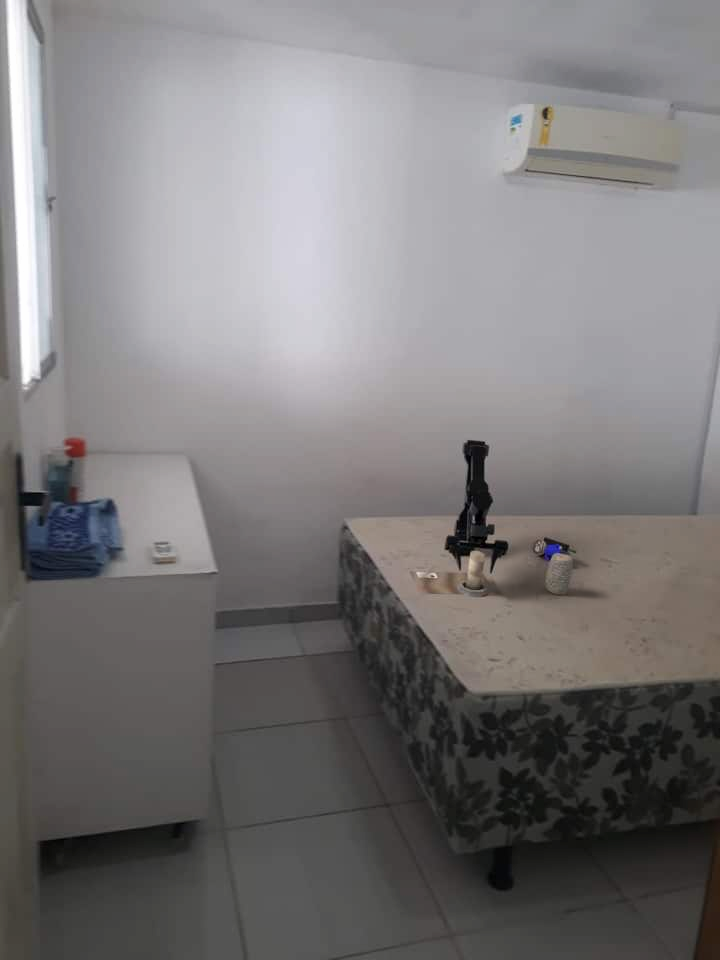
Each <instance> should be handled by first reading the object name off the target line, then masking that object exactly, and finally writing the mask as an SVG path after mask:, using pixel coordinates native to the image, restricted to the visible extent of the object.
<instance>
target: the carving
mask: <svg viewBox="0 0 720 960" xmlns="http://www.w3.org/2000/svg"><path fill="white" fill-rule="evenodd" d="M573 562H574V559H573V558H572V557H571V555H568V554H567V555H565V554H560V553H556V554H554V555H553V556H552V557H551V560H550V563H549V562H548V568H547V571H546V575H545V581H544V582H545V583H544V584H545V585H544V586H545V588H546V590H547V591H549V592H550V593H551V594H554V595H559V596H563V595H565V594H566V592H567V590H568V588H569V586H570V583H571V581H572V580H571V579H572V575H573V565H574V564H573Z"/></svg>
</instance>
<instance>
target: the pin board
mask: <svg viewBox="0 0 720 960" xmlns="http://www.w3.org/2000/svg"><path fill="white" fill-rule="evenodd" d="M409 573H410V576H411V578H412V581H413V582H414V584H415V587H416V589H417V591H418V593H419V594H421V595H423V594H425V595H430V594H431V595H461V596H462V595H463V596H464V595H466V596H469V597H483V596H498V594H497V592H496V591H495V589H494V588H493V586H492V585H491V583H490V582H489V580H488V579H487V577H486V575H485V574H484V573H482V579H481V585H480V590H470V589H467V588H465V586H466V579H467V573H468V572H453V571H451V572H449V571H448V572H446V571H444V572H443V571H416V570H414V571H413V570H412V571H409Z"/></svg>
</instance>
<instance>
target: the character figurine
mask: <svg viewBox="0 0 720 960" xmlns="http://www.w3.org/2000/svg"><path fill="white" fill-rule="evenodd" d="M531 546H532V547H531V548H532V551H533V553H534V554H535V555H537V556H538V557H541V558H545V559H547V561H548V564H549V563H550V560H551V557H552V556H553V555H554V554H556V553H560V554H565V555H568V556H571V555H572V554H571V553H573V554H577V553H578V552H577V551H576V550H574V549H570V544H567V543H564V542H560V541H557V540H555V539H552V538H548V537H543V540H542V539H539V540H538V539H537V540H535V541H534V542H533V543H532V545H531ZM574 563H575V562H574V561H573V565H574Z"/></svg>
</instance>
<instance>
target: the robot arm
mask: <svg viewBox="0 0 720 960" xmlns="http://www.w3.org/2000/svg"><path fill="white" fill-rule="evenodd" d="M461 450H462V454H463V459H464V463H466V465H467V468H466V477H465V488H464V489H465V490H464V498H463V499H464V500H463V508H462V509H461V511H460V512H459V514H458V515H457V519H456V520H455V523H454V527H453V534H452V535H451V534H448V535H446V537H445V541H444V550H445V551H448V553H449V554H452V557H453V558H454V561H455V563H456V566H457V568H458V571H459V572H461V571H462V557H463V556H465V557H470V553H471V552H472V551H475V549H477V550H480V549H481V550H491V556H490V563H489V574H492V573H493V572H494V571H493V570H494V568H495V565H496V562H497V559H498V558H499V559H500V558H502V557H503V556H506V554H507V553H508V551H509V542H508V541H507V540H503V539H501V540H500V539H495V540H494V542H493V543H490V542H486V541H488V537H489V536H494V535H495V524H490V523H489V524H487V516H488V513H489V511H490V508H491V506H492V504H493V502H494V499H493V496H492V495H491V491H490V492H489V490H490V489H489V488H490V487H489V485H488V483H487V482H486V481H485V463H486V462H485V461H486V457H488V456H489V454H490V453H489V451H490V445H489V444H486V441H484V440H476V439H474V440H473V439H467V440H466V442H463V443H462V449H461Z"/></svg>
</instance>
